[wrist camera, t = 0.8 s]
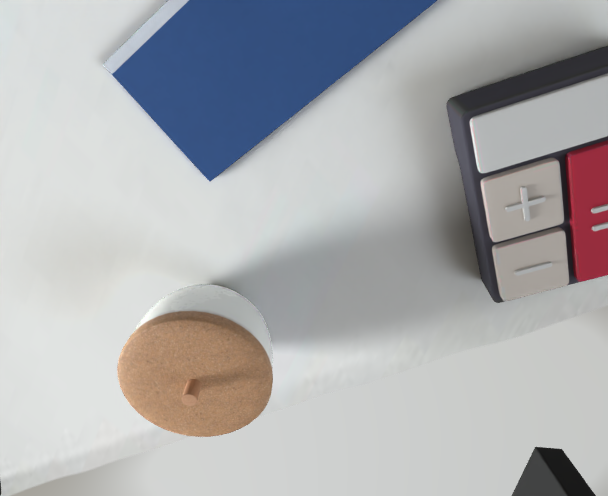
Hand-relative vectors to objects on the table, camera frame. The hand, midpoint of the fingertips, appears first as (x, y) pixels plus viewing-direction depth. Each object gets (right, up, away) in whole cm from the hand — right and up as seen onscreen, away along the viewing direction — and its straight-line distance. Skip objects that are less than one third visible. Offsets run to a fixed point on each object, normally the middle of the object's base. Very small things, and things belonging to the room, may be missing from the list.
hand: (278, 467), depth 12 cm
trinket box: (-7, 0, +29) cm, 30 cm away
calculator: (+18, +11, +23) cm, 31 cm away
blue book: (-1, +19, +18) cm, 27 cm away
